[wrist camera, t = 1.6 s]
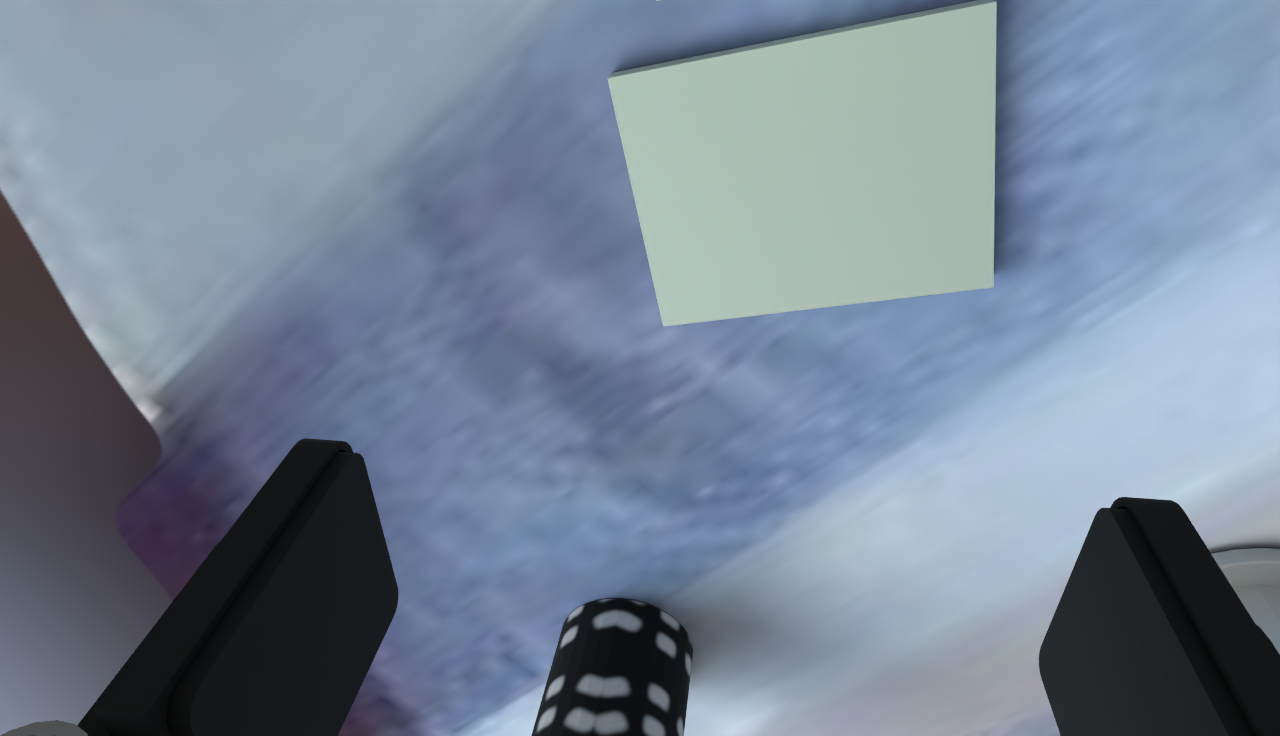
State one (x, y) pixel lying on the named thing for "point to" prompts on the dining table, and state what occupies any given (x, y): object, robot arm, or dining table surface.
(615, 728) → the spotted tube
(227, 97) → the dining table surface
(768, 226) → the sage board
